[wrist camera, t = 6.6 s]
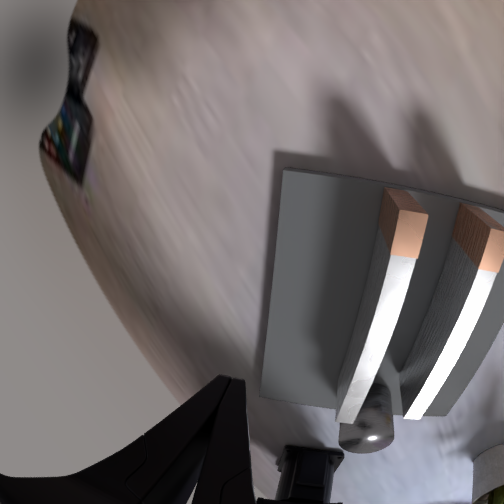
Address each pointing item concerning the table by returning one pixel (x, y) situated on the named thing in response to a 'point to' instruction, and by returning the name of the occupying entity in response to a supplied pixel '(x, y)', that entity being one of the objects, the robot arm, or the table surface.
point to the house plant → (489, 477)
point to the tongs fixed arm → (452, 307)
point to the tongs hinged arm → (378, 325)
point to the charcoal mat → (356, 289)
